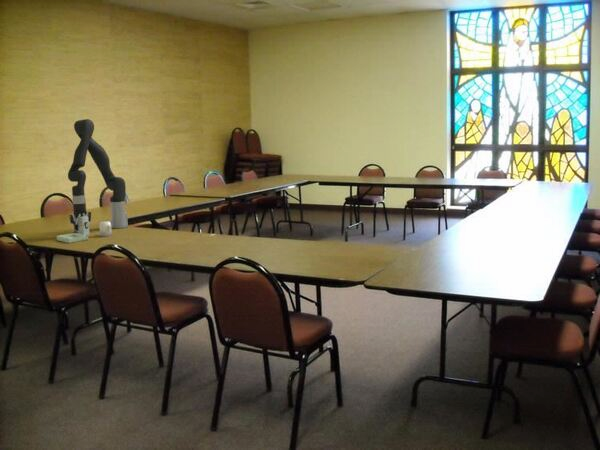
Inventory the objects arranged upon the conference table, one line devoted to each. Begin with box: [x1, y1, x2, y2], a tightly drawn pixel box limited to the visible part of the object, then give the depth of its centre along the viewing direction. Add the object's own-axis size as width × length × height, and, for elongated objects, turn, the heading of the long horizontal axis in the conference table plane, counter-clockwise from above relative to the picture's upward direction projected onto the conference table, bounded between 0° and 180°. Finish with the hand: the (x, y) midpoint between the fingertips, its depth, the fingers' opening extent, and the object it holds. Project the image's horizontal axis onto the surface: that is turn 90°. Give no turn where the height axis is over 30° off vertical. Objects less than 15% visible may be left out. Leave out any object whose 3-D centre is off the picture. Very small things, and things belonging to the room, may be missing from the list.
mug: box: [98, 221, 113, 237], centre depth 398 cm, size 7×9×8 cm
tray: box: [56, 232, 89, 244], centre depth 386 cm, size 12×16×3 cm
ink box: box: [73, 215, 91, 236], centre depth 401 cm, size 9×5×12 cm, turn 62°
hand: (81, 229), depth 402 cm, fingers closed on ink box, 5 cm apart
